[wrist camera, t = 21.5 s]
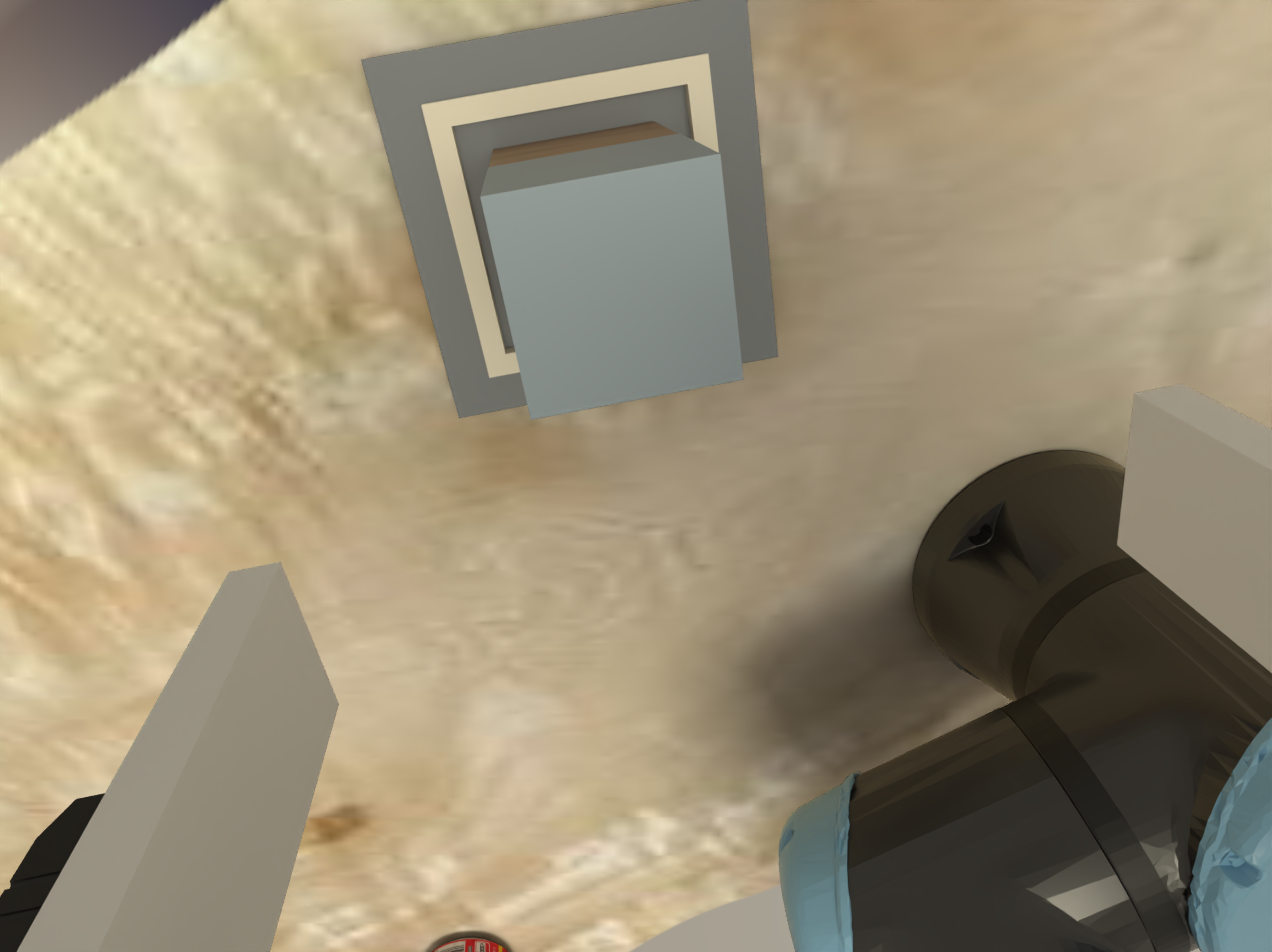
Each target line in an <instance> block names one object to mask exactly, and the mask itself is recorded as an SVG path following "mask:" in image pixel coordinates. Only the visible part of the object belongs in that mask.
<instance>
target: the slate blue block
mask: <svg viewBox="0 0 1272 952" xmlns="http://www.w3.org/2000/svg"><path fill="white" fill-rule="evenodd" d="M480 198H481V203H482V207H483V212H484V216H485V220H486V225H487V229H488V234H489V238H490V242H491V247H492V251H493V256H494V260H495V264H496V269H497V273H498V278H499V282H500V286H501V291H502V295H503V300H504V304H505V308H506V313H507V317H508V322H509V326H510V330H511V335H512V339H513V344H514V348H515V352H516V357H517V361H518V366H519V370H520V374H521V379H522V383H523V388H524V392H525V396H526V401H527V405H528V410H529V414H530V418H531V420H533V419H538V418H544V417H549V416H554V415H560V414H565V413H570V412H575V411H581V410H586V409H591V408H597V407H602V406H607V405H612V404H618V403H623V402H628V401H634V400H639V399H644V398H649V397H655V396H660V395H665V394H671V393H676V392H681V391H686V390H692V389H697V388H702V387H708V386H713V385H718V384H723V383H729V382H734V381H739V380H744V379H743V369H742V360H741V350H740V340H739V330H738V321H737V311H736V301H735V291H734V282H733V272H732V262H731V252H730V243H729V233H728V223H727V213H726V204H725V194H724V184H723V174H722V165H721V155H720V153H718V152H716V151H714V150H712V149H710V148H708V147H706V146H704V145H702V144H700V143H698V142H696V141H695V140H693V139H691V138H689V137H687V136H685V135H683V134H681V133H679V134H673V135H667V136H662V137H656V138H650V139H645V140H639V141H634V142H628V143H622V144H617V145H611V146H605V147H600V148H594V149H588V150H583V151H577V152H572V153H566V154H560V155H555V156H549V157H543V158H538V159H532V160H526V161H521V162H515V163H510V164H504V165H498V166H493V167H488V170H487V173H486V177H485V181H484V184H483V188H482V192H481V195H480Z"/></svg>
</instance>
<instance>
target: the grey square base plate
mask: <svg viewBox="0 0 1272 952" xmlns="http://www.w3.org/2000/svg"><path fill="white" fill-rule="evenodd" d="M361 61H362V65H363V69H364V72H365V76H366V80H367V83H368V87H369V91H370V94H371V98H372V102H373V105H374V109H375V113H376V116H377V120H378V124H379V127H380V131H381V135H382V138H383V142H384V146H385V149H386V153H387V156H388V160H389V164H390V167H391V171H392V175H393V178H394V182H395V186H396V189H397V193H398V197H399V200H400V204H401V208H402V211H403V215H404V219H405V222H406V226H407V230H408V233H409V237H410V241H411V244H412V248H413V252H414V255H415V259H416V263H417V266H418V270H419V273H420V277H421V281H422V284H423V288H424V292H425V295H426V299H427V303H428V306H429V310H430V314H431V317H432V321H433V325H434V328H435V332H436V336H437V339H438V343H439V347H440V350H441V354H442V358H443V361H444V365H445V369H446V372H447V376H448V380H449V383H450V387H451V390H452V394H453V398H454V401H455V405H456V409H457V412H458V416H459V418H463V417H468V416H473V415H478V414H484V413H489V412H494V411H499V410H504V409H509V408H515V407H520V406H525V405H527V401H526V396H525V392H524V388H523V383H522V379H521V374H520V370H519V366H518V361H517V357H516V352H515V348H514V344H513V339H512V335H511V330H510V326H509V322H508V317H507V313H506V308H505V304H504V300H503V295H502V291H501V286H500V282H499V278H498V273H497V269H496V264H495V260H494V256H493V251H492V247H491V242H490V238H489V234H488V229H487V225H486V220H485V216H484V212H483V207H482V203H481V198H480V195H481V192H482V188H483V184H484V181H485V177H486V173H487V170H488V167H489V163H490V160H491V156H492V152H493V149H497V148H503V147H508V146H514V145H520V144H525V143H531V142H537V141H542V140H548V139H554V138H559V137H565V136H571V135H576V134H582V133H587V132H593V131H599V130H604V129H610V128H616V127H621V126H627V125H633V124H638V123H644V122H650V121H654V122H656V123H658V124H660V125H662V126H664V127H666V128H668V129H670V130H672V131H674V132H675V133H677V134H679V133H681V134H683V135H685V136H687V137H689V138H691V139H693V140H695V141H696V142H698V143H700V144H702V145H704V146H706V147H708V148H710V149H712V150H714V151H716V152H718V153H720V155H721V165H722V174H723V184H724V194H725V204H726V213H727V223H728V233H729V243H730V252H731V262H732V272H733V282H734V291H735V301H736V311H737V321H738V330H739V340H740V350H741V360H742V364H743V363H748V362H753V361H758V360H764V359H769V358H774V357H778V352H777V340H776V329H775V317H774V306H773V294H772V283H771V271H770V260H769V248H768V237H767V225H766V214H765V202H764V191H763V179H762V168H761V156H760V145H759V133H758V122H757V110H756V99H755V87H754V75H753V64H752V52H751V41H750V29H749V18H748V6H747V0H696V1H690V2H684V3H679V4H673V5H667V6H662V7H656V8H650V9H645V10H639V11H633V12H628V13H622V14H616V15H611V16H605V17H600V18H594V19H588V20H583V21H577V22H571V23H566V24H560V25H554V26H549V27H543V28H537V29H532V30H526V31H520V32H515V33H509V34H503V35H498V36H492V37H486V38H481V39H475V40H469V41H464V42H458V43H452V44H447V45H441V46H435V47H430V48H424V49H418V50H413V51H407V52H401V53H396V54H390V55H385V56H379V57H373V58H368V59H362V60H361Z"/></svg>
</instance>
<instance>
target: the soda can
mask: <svg viewBox="0 0 1272 952" xmlns="http://www.w3.org/2000/svg"><path fill="white" fill-rule="evenodd" d="M432 952H508V951H507V950H506V949H505V948H503V947H502V946H500V945H498V944H496V943H494V942H491V941H489V940H486V939H483V938H476V937H466V938H460V939H456V940H453V941H451V942H449V943H446V944H444V945H442V946H440V947H438V948H436V949H435V950H433V951H432Z"/></svg>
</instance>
